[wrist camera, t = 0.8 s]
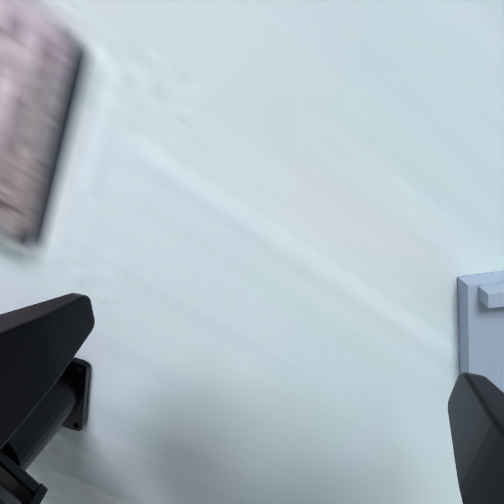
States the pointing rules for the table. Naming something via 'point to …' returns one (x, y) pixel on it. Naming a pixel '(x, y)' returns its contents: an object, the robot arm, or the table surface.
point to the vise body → (482, 325)
